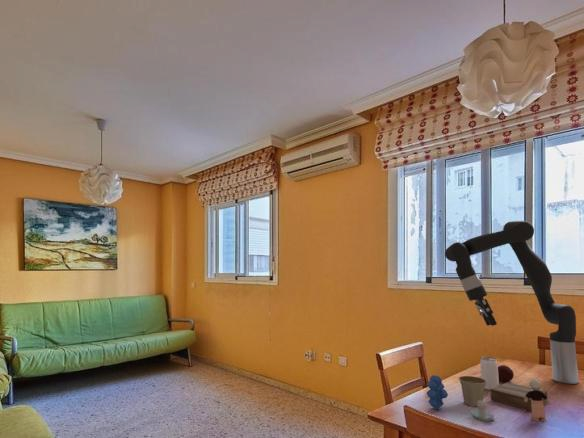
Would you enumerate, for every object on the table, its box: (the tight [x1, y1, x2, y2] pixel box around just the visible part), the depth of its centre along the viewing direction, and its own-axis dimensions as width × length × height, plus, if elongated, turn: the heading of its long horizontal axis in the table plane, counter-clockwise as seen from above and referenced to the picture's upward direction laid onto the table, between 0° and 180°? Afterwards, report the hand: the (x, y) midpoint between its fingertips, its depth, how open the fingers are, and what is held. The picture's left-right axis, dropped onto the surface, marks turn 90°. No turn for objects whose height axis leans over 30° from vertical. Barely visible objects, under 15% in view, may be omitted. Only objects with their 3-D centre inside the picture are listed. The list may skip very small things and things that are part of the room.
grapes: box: [426, 374, 449, 411], centre depth 135 cm, size 12×7×12 cm, turn 139°
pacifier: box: [469, 400, 496, 422], centre depth 128 cm, size 7×6×6 cm
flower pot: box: [458, 375, 487, 407], centre depth 141 cm, size 9×9×9 cm
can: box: [480, 356, 500, 391], centre depth 159 cm, size 6×6×12 cm
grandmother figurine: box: [524, 378, 551, 422], centre depth 127 cm, size 8×4×13 cm, turn 92°
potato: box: [498, 364, 515, 383], centre depth 169 cm, size 7×8×7 cm
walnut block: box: [489, 382, 548, 412], centre depth 143 cm, size 14×14×4 cm
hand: (492, 325), depth 157 cm, fingers open, 8 cm apart
